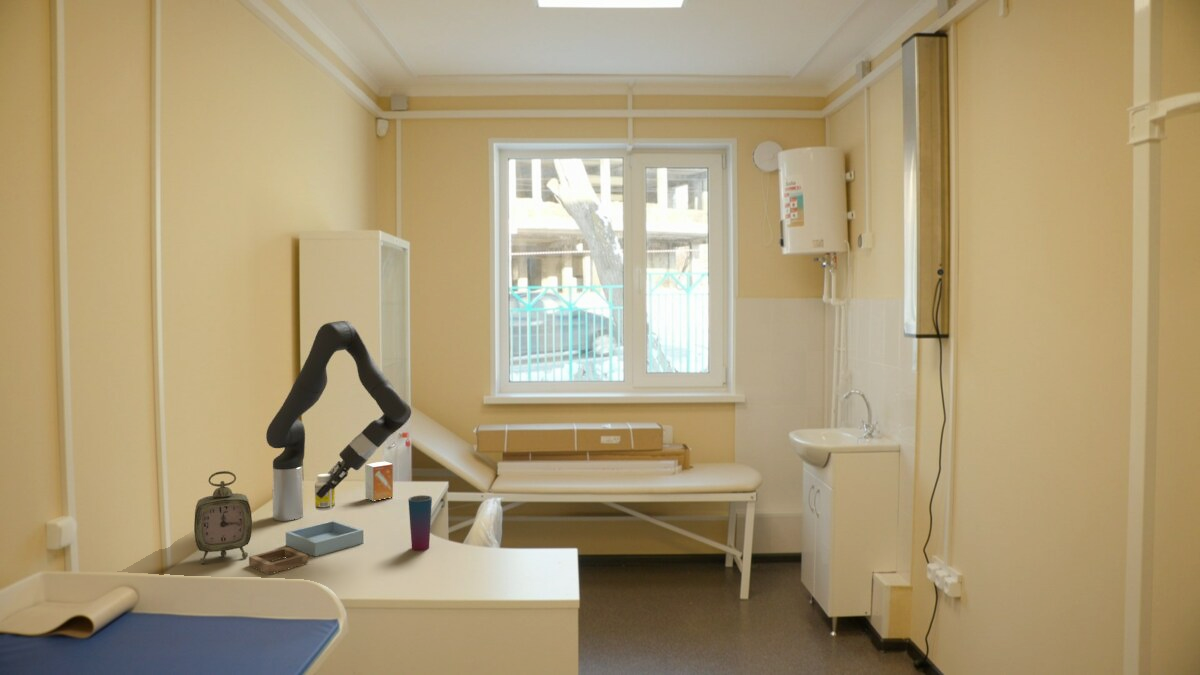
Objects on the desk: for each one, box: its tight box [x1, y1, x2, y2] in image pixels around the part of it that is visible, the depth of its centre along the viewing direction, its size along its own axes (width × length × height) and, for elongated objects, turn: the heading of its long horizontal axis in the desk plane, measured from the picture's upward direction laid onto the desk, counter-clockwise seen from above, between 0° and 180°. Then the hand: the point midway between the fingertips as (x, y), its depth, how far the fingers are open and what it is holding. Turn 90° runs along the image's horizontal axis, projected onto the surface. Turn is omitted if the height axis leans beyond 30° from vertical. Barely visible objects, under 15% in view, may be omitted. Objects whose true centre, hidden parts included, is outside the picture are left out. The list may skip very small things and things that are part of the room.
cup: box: [407, 494, 433, 552], centre depth 227 cm, size 7×7×15 cm
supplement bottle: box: [314, 473, 336, 512], centre depth 230 cm, size 6×6×10 cm
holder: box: [248, 546, 308, 575], centre depth 213 cm, size 11×11×2 cm
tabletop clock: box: [193, 470, 253, 565], centre depth 217 cm, size 14×9×25 cm, turn 118°
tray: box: [285, 519, 364, 557], centre depth 231 cm, size 16×16×4 cm
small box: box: [364, 461, 394, 501], centre depth 283 cm, size 8×6×13 cm
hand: (318, 493), depth 229 cm, fingers closed on supplement bottle, 5 cm apart
